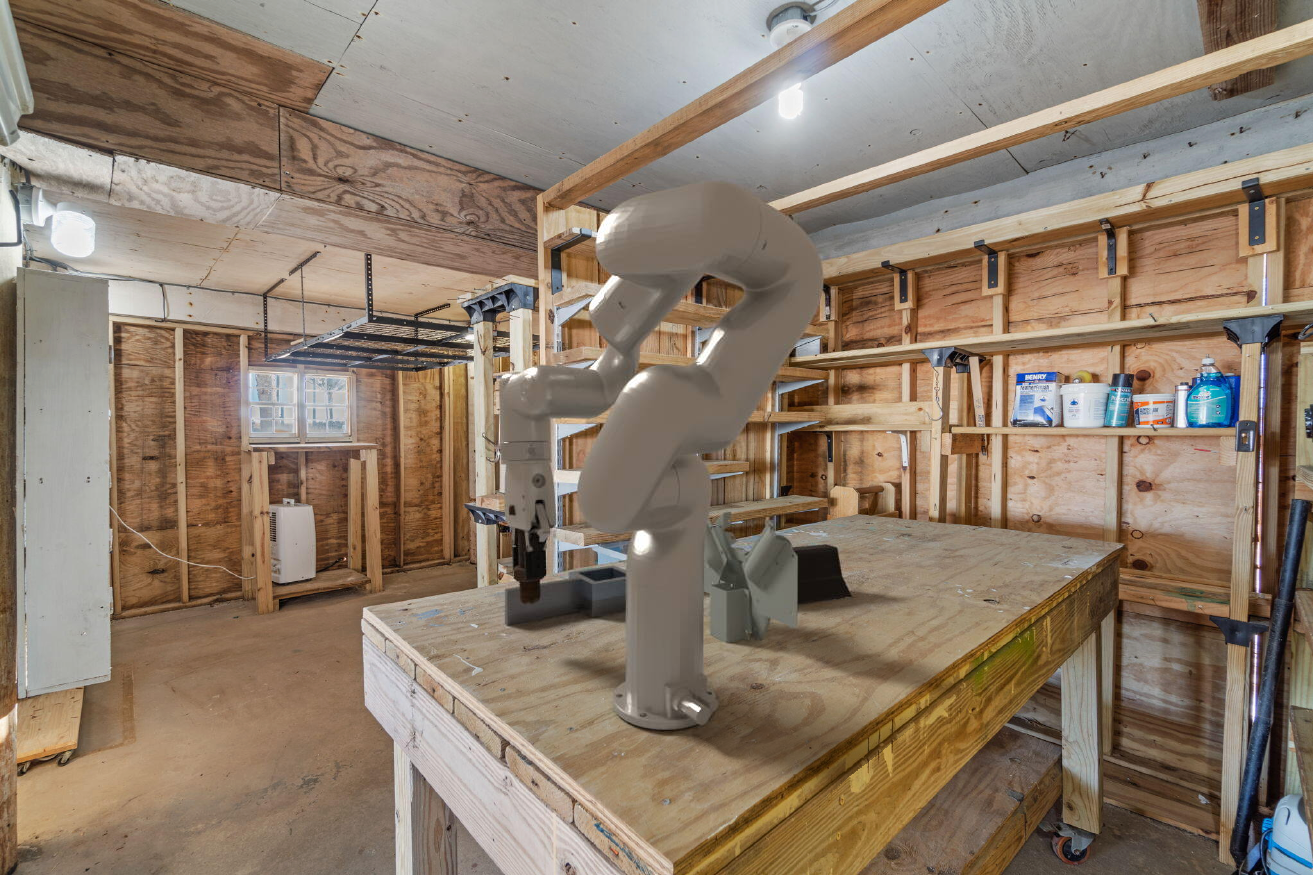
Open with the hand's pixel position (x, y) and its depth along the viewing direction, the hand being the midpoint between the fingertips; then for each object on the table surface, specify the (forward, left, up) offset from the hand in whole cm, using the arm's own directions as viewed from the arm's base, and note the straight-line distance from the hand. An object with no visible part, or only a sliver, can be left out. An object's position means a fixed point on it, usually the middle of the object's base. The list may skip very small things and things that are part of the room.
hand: (529, 572), depth 85 cm
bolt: (0, 0, -5) cm, 5 cm away
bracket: (-12, -31, -12) cm, 35 cm away
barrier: (-3, -54, -12) cm, 55 cm away
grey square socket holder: (+13, -20, -12) cm, 26 cm away
